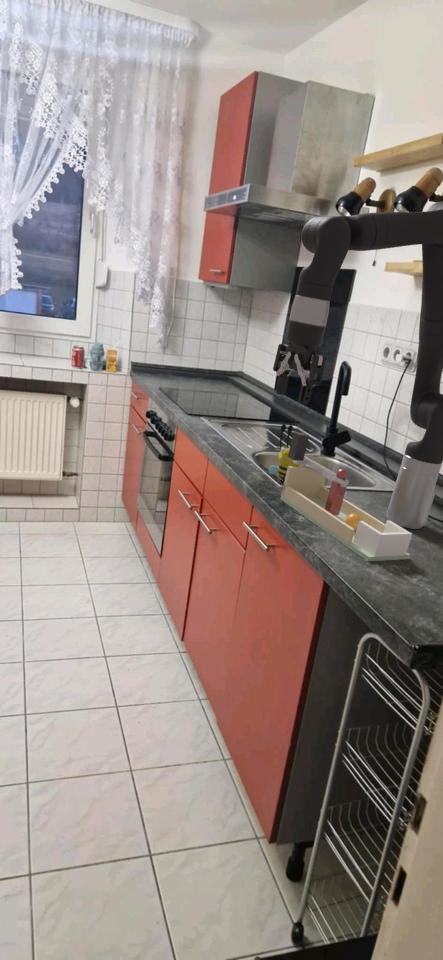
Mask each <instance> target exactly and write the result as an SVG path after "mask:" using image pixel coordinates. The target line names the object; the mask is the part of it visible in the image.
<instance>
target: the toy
mask: <svg viewBox="0 0 443 960" xmlns="http://www.w3.org/2000/svg"><path fill="white" fill-rule="evenodd" d="M286 429H287V437H286V446H282V442H283V440H282V439H283V434H284V432H285V431H286ZM292 432H293V425H292V424H289V426H288V428H287V425H286V424H285V423H283V424H282V425H281V427H280V437H279V453H278V456H277V457H278V458H277V459H278V461H279V466H277V465H274V464H271V465H269V467H268V474H270V475H275V474H278V477H279V478H280V479H281V480H282V482H283V483H284V481H285V477H286V473H287V468H288V466H296V467H301V464H295V463H294V462H293V460H292V459H291V458H289V457H288V454H289V450H290V447H289V439H290V435H291V433H292Z"/></svg>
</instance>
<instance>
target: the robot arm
mask: <svg viewBox="0 0 443 960" xmlns="http://www.w3.org/2000/svg"><path fill="white" fill-rule="evenodd" d="M301 230H302V231H301V237H300V238H301V239H300V240H301V243H302V245H303V247H304V248H305V249H306V251H308V252H310V253H312V254H314V255H313V257H312V260H311V263H310V264H309V265H307V266H305V267H303V268H302V270H301V271H300V274H299V277H298V283H297V287H296V292H295V296H294V299H293V301H292V306H291V309H290V310H291V311H290V314H289V315H290V316H289V319H288V320H289V321H288V324H287V329H286V334H285V341H286V342H287V343H288V344H285V343H279V344H278V346H277V350H276V356H275V360H274V363H273V367H272V369H273V372H276V375H277V383H276V386H275V394H276V395H282V396H285V395H286V393H287V388H288V383H289V376H290V375H291V373H292V372H295V371H296V372H297V373H298V376H299V377H300V380H301V386H300V391H299V395H298V399H297V403H298V404H300V405H304V406H305V405H308V404H309V402H310V401H311V396H312V392H313V388H314V387H316V386H319V387H320V386H321V385H322V380H323V375H324V369H325V366H326V356H325V355H320V354H317V349H318V348H321V347H322V344H323V339H324V337H325V336H324V335H325V330H326V326H327V322H328V317H329V311H330V301H331V297H332V293H333V288H334V284H335V280H336V278H337V275H339V272H340V270H341V268H342V265H343V263H344V261H345V260H346V257H347V255H348V251H355V252H356V251H357V252H367V251H368V252H369V251H378V250H385V249H386V250H387V249H393V248H401V247H407V246H417V245H421V256H422V259H421V260H422V282H421V304H420V313H419V314H420V315H419V329H418V347H417V349H418V350H417V357H416V358H417V360H416V368H415V376H414V383H413V389H412V393H411V400H410V407H409V408H410V409H409V413H410V419H411V421H412V423H413V424H414V425H415V426H417V427H419V428H421V429H424V430H425V432H424V434H423V436H422V439H420V440H418V441H410V442H408V443H407V444H406V447H405V450H404V453H403V457H402V460H401V463H400V468H399V470H398V474H397V476H396V477H397V478H396V481H395V484H394V487H393V491H392V494H391V498H390V501H389V505H388V507H387V512H386V514H385V518H386V520H387V521H392V522H393V523H395V524H397V525H398V526H400V527H402V528H406V529H412V530H413V529H414V530H420V529H422V527H426V525H427V524H426V523H427V522H428V521H427V520H428V518H429V514H430V511H431V508H432V504H433V502H434V499H435V495H436V491H435V487H436V485H437V481H438V478H439V474H440V472H441V468H442V466H443V465H442V464H443V394H442V393H441V381H442V380H441V379H442V373H443V201H438V202H437V201H436V202H435V203H433V204H431V205H430V207H429V208H428V209H427V210H426V211H382V212H380V211H378V212H367V213H366V212H365V213H360V214H355V215H329V216H328V215H325V216H323V215H322V216H321V215H320V216H315V217H312V218H311V219H310V220H308V221H307V222H306V223H305V224H304V226H303V228H302V229H301ZM280 362H281V363H280ZM315 375H316V378H315Z"/></svg>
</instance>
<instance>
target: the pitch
mask: <svg viewBox="0 0 443 960" xmlns="http://www.w3.org/2000/svg"><path fill="white" fill-rule="evenodd" d="M326 479H327V478H326V477H324V476H322V475H321V474H319V473H317V472H316V471H314V470H312V469H311V468H309V467H307V466H298V467H296V466H288V468H287V473H286V477H285V481H284V482H283V485H282V490H281V495H280V499H279V500H280V501H282V502H284V503H285V504H286V505H288V506H289V507H291V508H292V509H294V510H295V511H296V512H298V513H299V514H301V516H304V518H306V519H307V520H309V522H311V523H313V524H315V526H317V527H319V528H320V529H321V530H323V531H324V532H326V533H327V534H329V535H330V536H331V537H333V538H334V539H336V540H337V541H339V542H340V543H341V544H342V545H344V546H345V547H347V548H348V549H350V550H351V551H352V552H354V553H355V554H357V555H358V556H359V557H361V558H362V559H364V561H367V562H383V561H399V560H410V558H411V554H410V553H409V552H408V549H409V545H410V543H411V539H412V536H413V533H412V532H410V531H408V530H407V529H405V528H404V527H402V526H399V525H397V524H395V523H393V522H392V521H389V520H386V522H385V523H384V522H382V521H381V520H379V519H378V518H376V517H375V516H373V515H371V514H369V513H368V512H367V511H365V510H363V509H362V508H359V507H358V506H356V505H355V504H353V503H352V502H350V501H348V500H346V499H345V498H343V502H342V505H341V509H340V513H339V515H332V514H331V513H329V512H328V511H326V510H325V506H326V502H327V498H328V495H329V491H330V488H327V487H326V486H325V484H326V483H325V482H326ZM352 513H356V514H359V515H360V516H361V517H362V519H363V521H359V523H358V527H357V530H356V531H355V529H353V528H352V527H350V526H349V525H347V524H346V523H345V519H346V517H347V516H348V515H349V514H352Z"/></svg>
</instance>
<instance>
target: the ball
mask: <svg viewBox="0 0 443 960" xmlns="http://www.w3.org/2000/svg"><path fill="white" fill-rule="evenodd" d="M359 521H363V519H362V517H361V516H360V515H359V514H356V513H352V514H349V515H348V516H347V517H346V519H345V523H346V524H347V525H349V526H350V527H352V528H353V529H355V531H356V530H357V527H358V523H359Z"/></svg>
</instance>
